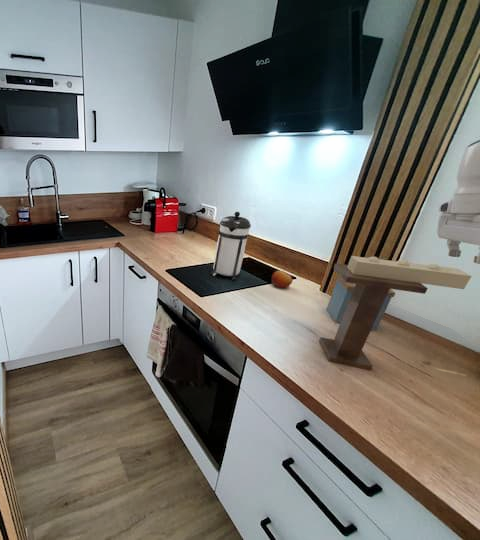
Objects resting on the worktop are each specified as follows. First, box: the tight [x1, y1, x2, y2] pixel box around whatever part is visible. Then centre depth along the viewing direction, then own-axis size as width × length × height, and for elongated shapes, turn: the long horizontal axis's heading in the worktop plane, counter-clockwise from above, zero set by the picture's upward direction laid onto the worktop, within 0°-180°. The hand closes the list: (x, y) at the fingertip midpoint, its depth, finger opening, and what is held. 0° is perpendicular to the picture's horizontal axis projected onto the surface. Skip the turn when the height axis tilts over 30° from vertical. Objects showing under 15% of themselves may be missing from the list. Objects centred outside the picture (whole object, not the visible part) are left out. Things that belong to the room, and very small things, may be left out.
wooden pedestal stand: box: [318, 263, 429, 371], centre depth 79 cm, size 16×10×26 cm, turn 70°
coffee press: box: [210, 211, 252, 282], centre depth 131 cm, size 17×16×30 cm
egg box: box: [347, 255, 472, 290], centre depth 71 cm, size 22×4×5 cm, turn 70°
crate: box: [326, 273, 396, 331], centre depth 99 cm, size 13×11×14 cm
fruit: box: [271, 270, 293, 289], centre depth 124 cm, size 8×8×8 cm
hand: (466, 259), depth 74 cm, fingers open, 8 cm apart
